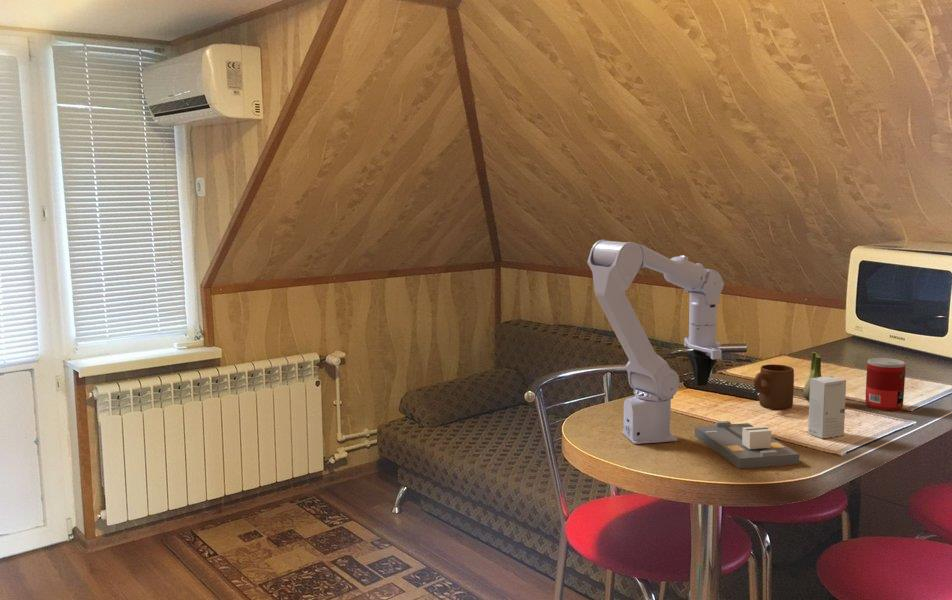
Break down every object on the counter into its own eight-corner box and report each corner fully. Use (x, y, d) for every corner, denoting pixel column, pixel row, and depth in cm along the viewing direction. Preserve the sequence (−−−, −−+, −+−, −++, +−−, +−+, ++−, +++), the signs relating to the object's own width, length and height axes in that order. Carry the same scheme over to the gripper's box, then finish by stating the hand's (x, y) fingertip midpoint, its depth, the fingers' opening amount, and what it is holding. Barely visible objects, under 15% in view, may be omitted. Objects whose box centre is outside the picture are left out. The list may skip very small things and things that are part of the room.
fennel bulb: (820, 405, 188) (822, 356, 186) (799, 402, 191) (801, 353, 189) (827, 400, 193) (829, 351, 191) (806, 396, 196) (808, 349, 194)
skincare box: (822, 439, 163) (825, 382, 162) (806, 433, 168) (808, 378, 166) (845, 435, 166) (848, 379, 164) (828, 429, 170) (831, 375, 168)
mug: (768, 416, 181) (769, 375, 179) (740, 408, 187) (741, 369, 185) (799, 406, 187) (801, 368, 186) (771, 400, 194) (772, 362, 192)
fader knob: (749, 449, 152) (750, 431, 151) (742, 444, 155) (742, 427, 154) (770, 447, 153) (771, 430, 152) (762, 442, 155) (763, 425, 155)
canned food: (905, 412, 181) (908, 365, 180) (867, 409, 184) (869, 363, 182) (899, 403, 188) (902, 358, 187) (862, 401, 191) (865, 356, 189)
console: (739, 468, 148) (740, 454, 148) (694, 435, 168) (695, 423, 167) (799, 464, 150) (799, 450, 149) (747, 432, 169) (748, 419, 169)
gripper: (735, 328, 164) (734, 392, 166) (705, 317, 178) (704, 375, 180) (703, 330, 163) (702, 394, 165) (676, 318, 177) (675, 377, 179)
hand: (701, 384), depth 173 cm, fingers closed
